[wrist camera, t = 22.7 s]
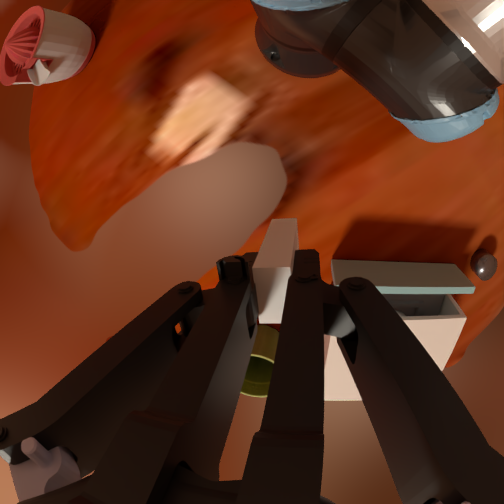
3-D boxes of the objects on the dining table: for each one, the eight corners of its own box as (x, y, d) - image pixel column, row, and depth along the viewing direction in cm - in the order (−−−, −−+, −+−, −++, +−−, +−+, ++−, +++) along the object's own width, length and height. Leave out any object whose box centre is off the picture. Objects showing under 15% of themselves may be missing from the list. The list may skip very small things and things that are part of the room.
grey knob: (473, 247, 39) (482, 255, 36) (491, 249, 38) (499, 256, 35) (467, 271, 41) (475, 280, 38) (484, 272, 40) (492, 280, 37)
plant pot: (264, 304, 52) (254, 343, 42) (304, 341, 54) (301, 383, 43) (223, 332, 56) (207, 370, 46) (262, 365, 58) (253, 404, 48)
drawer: (331, 259, 45) (335, 285, 37) (454, 263, 41) (475, 286, 33) (318, 361, 55) (317, 392, 47) (421, 359, 50) (430, 387, 42)
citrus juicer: (65, 105, 42) (-9, 112, 24) (50, 54, 37) (-15, 50, 19) (115, 58, 37) (36, 43, 19) (94, 8, 32) (28, -12, 14)
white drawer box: (329, 285, 48) (333, 319, 39) (445, 287, 43) (466, 317, 34) (318, 364, 56) (317, 400, 47) (418, 362, 51) (428, 394, 42)
